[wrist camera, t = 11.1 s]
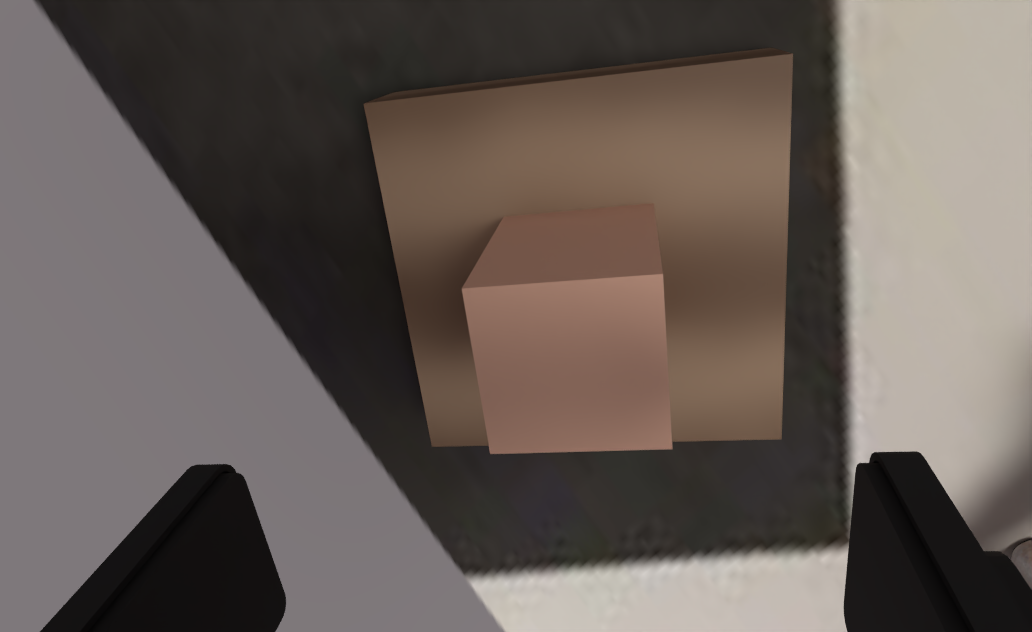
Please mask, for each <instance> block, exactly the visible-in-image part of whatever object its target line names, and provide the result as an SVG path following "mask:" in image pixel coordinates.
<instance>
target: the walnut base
mask: <svg viewBox="0 0 1032 632" xmlns="http://www.w3.org/2000/svg"><path fill="white" fill-rule="evenodd" d="M792 70H793V54H792V53H789V52H785V51H782V50H778V49H775V48H764V49H756V50H747V51H739V52H730V53H722V54H713V55H705V56H696V57H688V58H679V59H671V60H663V61H654V62H646V63H637V64H629V65H620V66H612V67H603V68H595V69H586V70H578V71H569V72H561V73H552V74H544V75H535V76H527V77H518V78H510V79H501V80H493V81H484V82H476V83H468V84H459V85H451V86H442V87H434V88H425V89H417V90H408V91H400V92H393V93H391V94H388V95H385V96H382V97H380V98H377V99H374V100H372V101H369V102H366V103H364V108H365V113H366V118H367V123H368V128H369V133H370V139H371V144H372V149H373V154H374V159H375V164H376V169H377V174H378V179H379V184H380V189H381V194H382V199H383V204H384V209H385V214H386V219H387V224H388V229H389V234H390V239H391V244H392V249H393V254H394V259H395V264H396V269H397V274H398V279H399V284H400V289H401V294H402V299H403V304H404V309H405V314H406V319H407V324H408V329H409V334H410V339H411V344H412V349H413V354H414V359H415V364H416V369H417V374H418V379H419V384H420V389H421V394H422V399H423V404H424V409H425V414H426V419H427V424H428V429H429V434H430V439H431V444H432V447H443V446H489V444H488V438H487V432H486V426H485V421H484V415H483V409H482V403H481V397H480V392H479V386H478V380H477V374H476V369H475V363H474V357H473V351H472V345H471V340H470V334H469V328H468V322H467V317H466V311H465V305H464V299H463V294H462V287H463V285H464V284H465V282H466V280H467V279H468V277H469V275H470V273H471V272H472V270H473V268H474V267H475V265H476V263H477V262H478V260H479V258H480V256H481V255H482V253H483V251H484V250H485V248H486V246H487V244H488V243H489V241H490V239H491V238H492V236H493V234H494V232H495V231H496V229H497V227H498V226H499V224H500V222H501V221H502V219H503V217H506V216H517V215H528V214H539V213H550V212H561V211H572V210H583V209H594V208H605V207H616V206H627V205H638V204H649V203H654V210H655V218H656V225H657V233H658V240H659V248H660V255H661V262H662V270H663V283H664V301H665V320H666V339H667V357H668V376H669V395H670V414H671V432H672V442H675V441H722V440H769V439H781V438H782V405H783V371H784V338H785V304H786V271H787V237H788V204H789V170H790V137H791V103H792Z"/></svg>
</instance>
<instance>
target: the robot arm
mask: <svg viewBox="0 0 1032 632" xmlns="http://www.w3.org/2000/svg"><path fill="white" fill-rule="evenodd" d="M285 607H286V597H285V592H284V590H283V587H282V584H281V581H280V578H279V576H278V572H277V570H276V567H275V564H274V561H273V558H272V555H271V552H270V549H269V546H268V544H267V541H266V538H265V535H264V532H263V529H262V527H261V524H260V521H259V518H258V515H257V512H256V509H255V506H254V503H253V501H252V498H251V495H250V492H249V489H248V486H247V483H246V481H245V479H244V477H243V476H242V475H241V474H239V473H236V471H235V469H234V468H233V467H232V466H231V465H227V464H219V465H218V464H217V465H216V464H214V465H195V466H191V467H190V468H189V469H188V470H187V471H186V472H185V473H184V474H183V475H182V476H181V477H180V478H179V479H178V481H177V482H176V483H175V484H174V485H173V486H172V487H171V488H170V489H169V490H168V491H167V493H166V494H165V495H164V496H163V497H162V498H161V499H160V500H159V501H158V503H157V504H156V505H155V506H154V507H153V508H152V509H151V510H150V511H149V512H148V513H147V515H146V516H145V517H144V518H143V519H142V520H141V521H140V522H139V524H138V525H137V526H136V527H135V528H134V529H133V530H132V531H131V532H130V533H129V534H128V535H127V537H126V538H125V539H124V540H123V541H122V542H121V543H120V544H119V546H118V547H117V548H116V549H115V550H114V551H113V552H112V553H111V554H110V555H109V556H108V557H107V559H106V560H105V561H104V562H103V563H102V564H101V565H100V566H99V568H97V570H96V571H95V572H94V573H93V574H92V575H91V576H90V577H89V578H88V579H87V581H86V582H85V583H84V584H83V585H82V586H81V587H80V588H79V589H78V591H77V592H76V593H75V594H74V595H73V596H72V597H71V598H70V599H69V600H68V602H67V603H66V604H65V605H64V606H63V607H62V608H61V609H60V610H59V611H58V613H57V614H56V615H55V616H54V617H53V618H52V619H51V620H50V622H48V624H47V625H46V626H45V627H44V628H43V629H42V630H41V631H40V632H275V631H276V629H277V628H278V626H279V624H280V622H281V620H282V618H283V616H284V612H285ZM844 617H845V623H846V628H847V632H1032V589H1031V588H1030V586H1029V585H1028V584H1027V582H1026V581H1025V579H1024V578H1023V576H1022V575H1021V573H1020V572H1019V570H1018V569H1017V567H1016V566H1015V565H1014V563H1013V562H1012V561H1011V560H1010V559H1009V558H1008V556H1006V555H1005V554H1003V553H1001V552H999V551H983V549H982V548H981V546H980V545H979V543H978V541H977V540H976V538H975V537H974V535H973V534H972V532H971V530H970V529H969V527H968V526H967V524H966V523H965V521H964V519H963V518H962V516H961V515H960V513H959V512H958V510H957V508H956V507H955V505H954V504H953V502H952V501H951V499H950V497H949V496H948V494H947V493H946V491H945V490H944V488H943V486H942V485H941V483H940V482H939V480H938V479H937V477H936V475H935V474H934V472H933V471H932V469H931V468H930V466H929V464H928V463H927V461H926V460H925V458H924V457H923V456H922V454H921V453H919V452H875V453H873V454H872V455H871V457H870V462H869V463H859V464H858V465H857V467H856V473H855V484H854V496H853V507H852V518H851V529H850V540H849V552H848V563H847V574H846V585H845V596H844Z"/></svg>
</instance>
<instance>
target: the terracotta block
mask: <svg viewBox="0 0 1032 632" xmlns="http://www.w3.org/2000/svg"><path fill="white" fill-rule="evenodd" d="M462 294H463V299H464V305H465V311H466V317H467V322H468V328H469V334H470V340H471V345H472V351H473V357H474V363H475V369H476V374H477V380H478V386H479V392H480V397H481V403H482V409H483V415H484V421H485V426H486V432H487V438H488V444H489V449H490V454H511V453H547V452H583V451H620V450H656V449H672V432H671V414H670V395H669V376H668V357H667V339H666V320H665V301H664V283H663V270H662V262H661V255H660V248H659V240H658V233H657V225H656V218H655V210H654V203H649V204H638V205H627V206H616V207H605V208H594V209H583V210H572V211H561V212H550V213H539V214H528V215H517V216H506V217H503V219H502V221H501V222H500V224H499V226H498V227H497V229H496V231H495V232H494V234H493V236H492V238H491V239H490V241H489V243H488V244H487V246H486V248H485V250H484V251H483V253H482V255H481V256H480V258H479V260H478V262H477V263H476V265H475V267H474V268H473V270H472V272H471V273H470V275H469V277H468V279H467V280H466V282H465V284H464V285H463V287H462Z"/></svg>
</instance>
